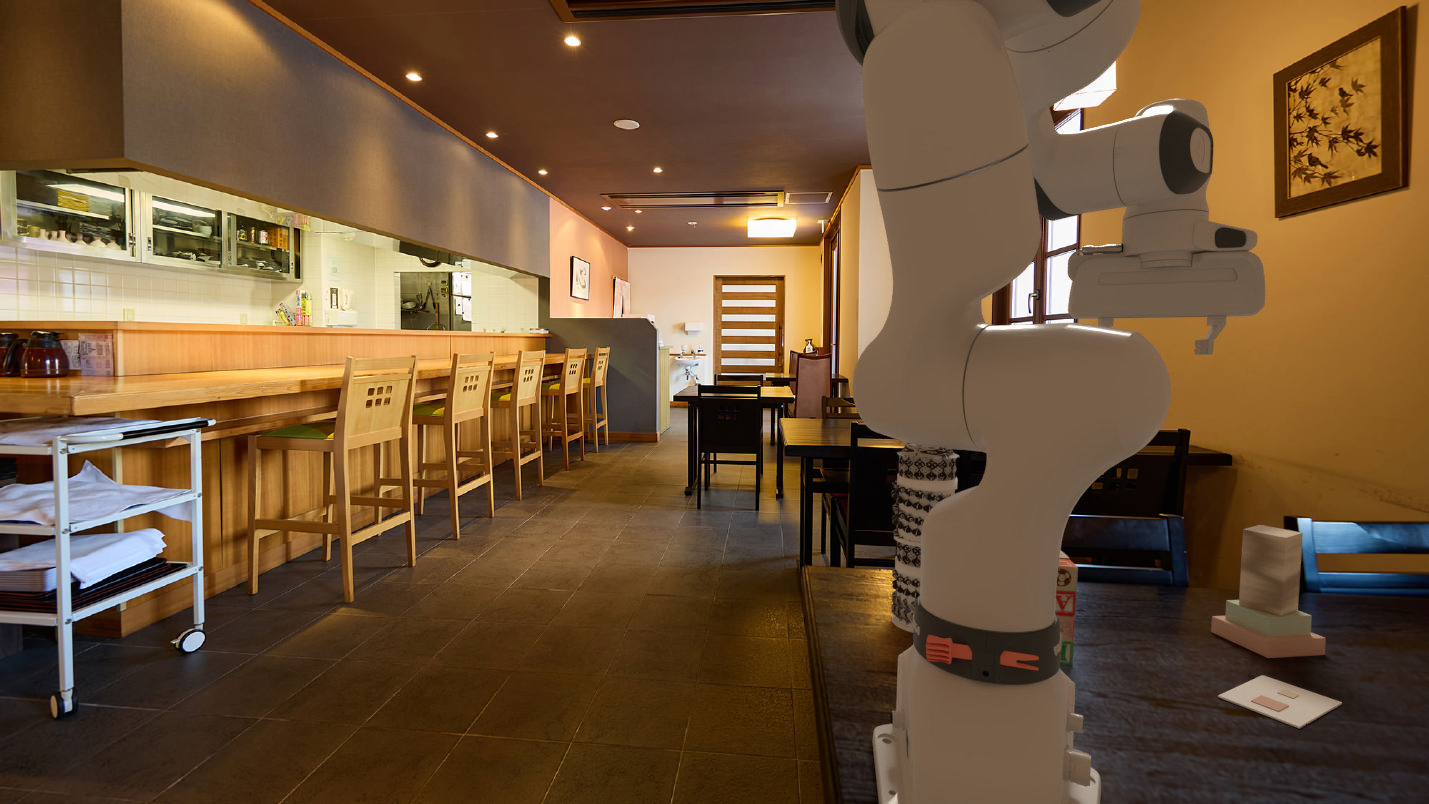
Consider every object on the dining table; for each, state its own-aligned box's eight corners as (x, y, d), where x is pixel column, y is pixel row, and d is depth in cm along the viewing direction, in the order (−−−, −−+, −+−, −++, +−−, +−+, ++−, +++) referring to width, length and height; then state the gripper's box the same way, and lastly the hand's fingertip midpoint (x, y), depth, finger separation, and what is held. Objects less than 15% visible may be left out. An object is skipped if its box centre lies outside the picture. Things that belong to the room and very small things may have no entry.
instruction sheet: (1299, 728, 65) (1299, 725, 65) (1218, 697, 72) (1218, 694, 72) (1341, 704, 70) (1342, 701, 70) (1262, 676, 76) (1262, 674, 76)
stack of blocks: (985, 600, 101) (987, 520, 100) (1029, 603, 100) (1032, 523, 99) (1018, 661, 80) (1021, 561, 79) (1074, 667, 79) (1078, 565, 78)
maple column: (1297, 609, 85) (1302, 532, 84) (1281, 616, 83) (1286, 537, 82) (1255, 598, 89) (1260, 524, 88) (1238, 604, 86) (1243, 529, 86)
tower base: (1324, 657, 82) (1327, 618, 82) (1267, 660, 81) (1270, 621, 81) (1263, 631, 90) (1265, 595, 90) (1211, 634, 89) (1212, 597, 89)
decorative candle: (875, 615, 94) (879, 440, 93) (929, 607, 98) (934, 438, 96) (914, 640, 86) (919, 448, 84) (973, 631, 89) (978, 445, 87)
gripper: (1071, 242, 83) (1067, 353, 83) (1275, 232, 75) (1268, 354, 76) (1065, 250, 89) (1061, 354, 89) (1253, 241, 81) (1247, 355, 82)
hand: (1158, 354), depth 83 cm, fingers open, 8 cm apart
